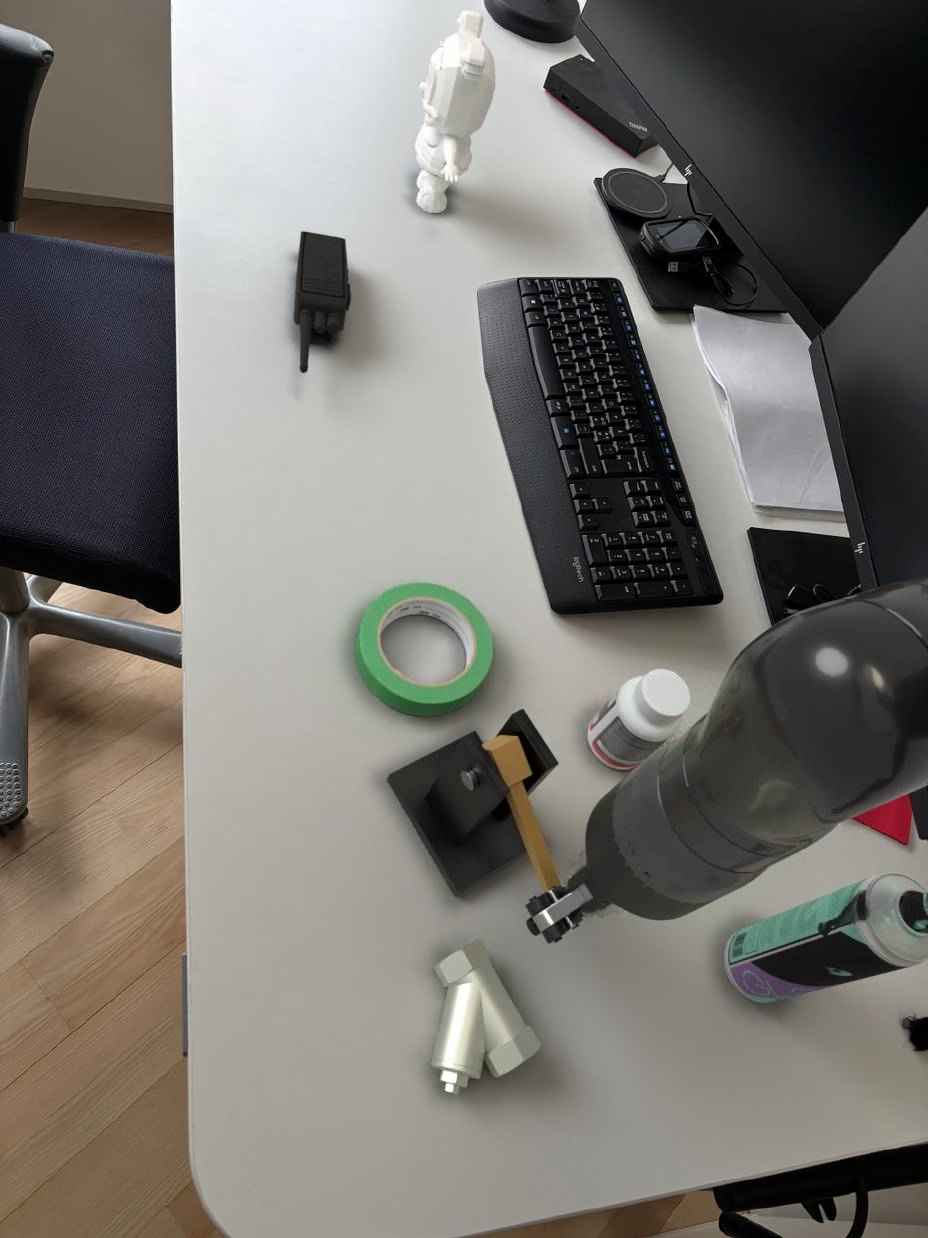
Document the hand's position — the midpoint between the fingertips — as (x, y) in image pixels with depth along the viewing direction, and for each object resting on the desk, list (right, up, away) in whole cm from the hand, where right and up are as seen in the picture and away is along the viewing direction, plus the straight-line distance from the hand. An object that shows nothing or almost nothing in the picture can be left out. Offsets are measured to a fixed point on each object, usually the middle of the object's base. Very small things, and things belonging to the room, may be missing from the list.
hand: (568, 905), depth 61 cm
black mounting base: (-7, +4, +9) cm, 12 cm away
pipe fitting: (-7, -9, +2) cm, 12 cm away
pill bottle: (+6, +9, +16) cm, 19 cm away
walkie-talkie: (-21, +48, +31) cm, 61 cm away
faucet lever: (-3, +5, +2) cm, 6 cm away
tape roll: (-11, +16, +15) cm, 24 cm away
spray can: (+15, -8, +9) cm, 20 cm away
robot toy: (-11, +68, +45) cm, 83 cm away
